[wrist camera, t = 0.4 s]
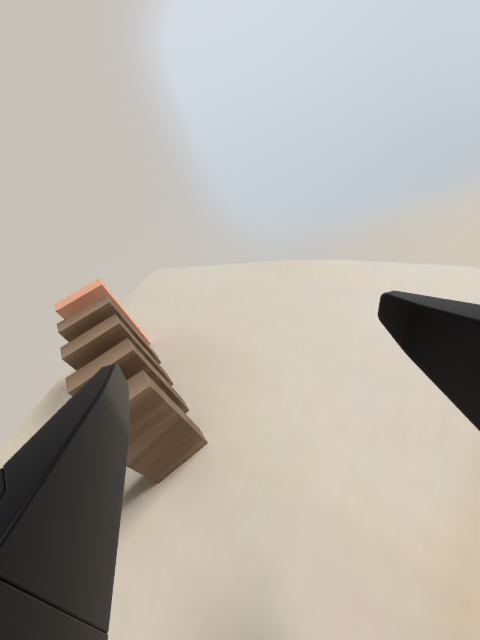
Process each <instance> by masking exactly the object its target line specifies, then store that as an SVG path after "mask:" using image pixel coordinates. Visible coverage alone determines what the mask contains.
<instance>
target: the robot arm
mask: <svg viewBox="0 0 480 640" xmlns="http://www.w3.org/2000/svg"><path fill="white" fill-rule="evenodd" d="M378 318H379V320H380V322H381V323H382V324H383V325H384V327H385V328H386V329H387V331H388V332H389V333H390V334H391V336H392V337H393V338H394V340H395V341H396V342H397V343H398V345H399V346H400V347H401V348H402V350H403V351H404V352H405V353H406V354H407V355H408V357H409V358H410V359H411V360H412V361H413V362H414V363H415V364H416V365H417V366H418V367H419V368H420V369H421V370H422V371H423V372H424V373H425V374H426V375H427V377H428V378H429V379H430V380H431V381H432V382H433V383H434V384H435V385H436V386H437V387H438V388H439V389H440V390H441V391H442V392H443V393H444V394H445V395H446V396H447V397H448V398H449V400H450V401H451V402H452V403H453V404H454V405H455V406H456V407H457V408H458V409H459V410H460V411H461V412H462V413H463V414H464V415H465V416H466V417H467V418H468V419H469V420H470V421H471V423H472V424H473V425H474V426H475V427H476V428H477V429H478V430H479V431H480V305H478V304H472V303H466V302H460V301H454V300H448V299H442V298H436V297H430V296H424V295H418V294H412V293H406V292H400V291H390V292H386V293H383V294H382V295H381V297H380V303H379V309H378ZM129 434H130V419H129V386H128V383H127V380H126V379H125V377H124V375H123V373H122V371H121V369H120V367H119V366H118V365H117V364H111V365H107V366H103V367H102V368H101V369H100V370H99V371H98V372H97V373H96V374H95V375H94V376H93V377H92V378H91V379H90V380H89V381H88V382H87V383H86V384H85V385H84V386H83V387H82V388H81V389H80V390H79V391H78V392H77V393H76V394H75V395H74V396H73V397H72V398H71V399H70V400H69V401H68V402H67V403H66V404H65V405H64V406H63V407H62V408H61V409H60V410H59V411H58V412H57V413H56V414H55V415H54V416H53V417H52V418H51V419H50V420H49V421H48V422H47V423H46V424H45V425H44V426H43V427H42V428H41V429H40V430H38V431H37V432H36V433H35V434H34V435H33V436H32V437H31V438H30V439H29V440H28V441H27V442H26V443H25V444H24V445H23V446H22V447H21V448H20V449H19V450H18V451H17V452H16V453H15V454H14V455H13V456H12V457H11V458H10V459H9V460H8V461H7V462H6V463H5V464H4V466H3V468H1V469H0V640H108V634H107V633H108V630H109V621H110V611H111V602H112V593H113V584H114V575H115V565H116V556H117V547H118V538H119V528H120V519H121V510H122V501H123V491H124V482H125V473H126V464H127V454H128V445H129Z"/></svg>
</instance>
